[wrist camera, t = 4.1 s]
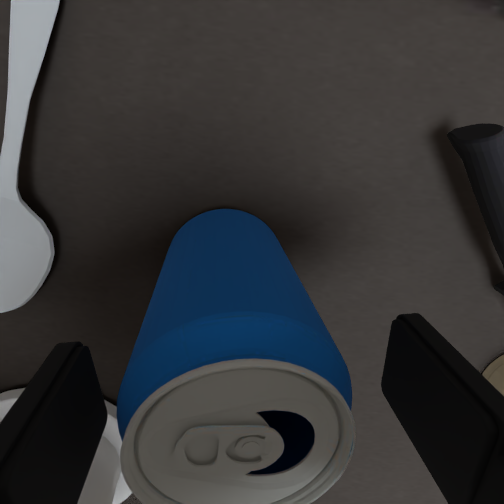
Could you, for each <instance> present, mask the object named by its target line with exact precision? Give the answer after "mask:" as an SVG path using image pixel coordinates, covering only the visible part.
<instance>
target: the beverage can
mask: <svg viewBox="0 0 504 504" xmlns="http://www.w3.org/2000/svg"><path fill="white" fill-rule="evenodd" d="M351 406H352V387H351V380H350V375H349V372H348V369H347V366H346V364H345V362H344V360H343V358H342V356H341V354H340V352H339V350H338V348H337V347H336V345H335V343H334V341H333V339H332V338H331V336H330V334H329V332H328V330H327V328H326V327H325V325H324V323H323V321H322V319H321V318H320V316H319V314H318V312H317V310H316V309H315V307H314V305H313V303H312V301H311V299H310V298H309V296H308V294H307V292H306V290H305V289H304V287H303V285H302V283H301V281H300V279H299V278H298V276H297V274H296V272H295V270H294V269H293V267H292V265H291V263H290V261H289V259H288V258H287V256H286V254H285V252H284V250H283V249H282V247H281V245H280V243H279V241H278V240H277V238H276V236H275V234H274V233H273V232H272V230H271V229H270V228H269V227H268V226H267V225H266V224H265V223H264V222H263V221H262V220H260V219H259V218H257V217H255V216H254V215H251V214H249V213H247V212H243V211H240V210H234V209H217V210H212V211H207V212H205V213H202V214H199V215H198V216H196V217H194V218H192V219H191V220H189V221H188V222H187V223H185V224H184V225H183V226H182V227H181V228H180V230H179V231H178V232H177V233H176V235H175V236H174V238H173V240H172V242H171V244H170V247H169V250H168V252H167V255H166V258H165V261H164V264H163V267H162V269H161V272H160V275H159V278H158V281H157V284H156V286H155V289H154V292H153V295H152V298H151V301H150V303H149V306H148V309H147V312H146V315H145V318H144V320H143V323H142V326H141V329H140V332H139V335H138V337H137V340H136V343H135V346H134V349H133V352H132V354H131V357H130V360H129V363H128V366H127V369H126V371H125V374H124V377H123V380H122V383H121V386H120V389H119V394H118V398H117V414H116V416H117V423H118V429H119V434H120V437H121V440H122V446H121V452H120V464H121V471H122V474H123V477H124V479H125V482H126V484H127V485H128V487H129V489H130V490H131V492H132V493H133V494H134V495H135V496H136V498H137V499H138V500H139V501H141V502H142V503H143V504H310V503H312V502H313V501H315V500H316V499H318V498H319V497H320V496H321V495H323V494H324V493H325V492H326V491H328V490H329V489H330V488H331V487H332V486H333V485H334V484H335V483H336V481H337V480H338V479H339V478H340V476H341V475H342V474H343V472H344V471H345V469H346V467H347V466H348V464H349V462H350V459H351V457H352V455H353V451H354V447H355V441H356V430H355V423H354V419H353V416H352V413H351Z"/></svg>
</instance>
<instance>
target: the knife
mask: <svg viewBox="0 0 504 504" xmlns="http://www.w3.org/2000/svg"><path fill="white" fill-rule="evenodd" d="M447 137H448V138H449V140H450V142H451V144H452V146H453V147H454V149H455V150H456V152H457V153H458V155H459V156H460V158H461V159H462V161H463V163H464V166H465V169H466V172H467V175H468V178H469V181H470V184H471V187H472V189H473V192H474V195H475V197H476V200H477V203H478V205H479V208H480V211H481V213H482V216H483V218H484V221H485V224H486V226H487V229H488V232H489V234H490V237H491V240H492V242H493V245H494V247H495V249H496V251H497V253H498V256H499V258H500V260H501V262H502V264H503V267H504V127H503V126H500V125H497V124H475V125H470V126H465V127H461V128H456V129H454V130H452V131H450V132H448V134H447ZM494 289H496V290H497V291H498V292H500V293H501V294H503V295H504V280H503V281H502V282H500V283H499V284H497V285H495V286H494Z"/></svg>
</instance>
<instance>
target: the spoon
mask: <svg viewBox="0 0 504 504" xmlns="http://www.w3.org/2000/svg"><path fill="white" fill-rule="evenodd" d="M59 3H60V0H11V16H10V39H9V70H8V96H7V107H6V118H5V130H4V140H3V145H2V150H1V156H0V313H3V312H7V311H11V310H14V309H16V308H18V307H21V306H23V305H24V304H26V303H27V302H28V301H29V300H30V299H31V298H32V297H33V296H34V295H35V294H36V292H37V291H38V290H39V288H40V287H41V286H42V284H43V282H44V281H45V279H46V277H47V275H48V273H49V271H50V269H51V265H52V262H53V258H54V254H55V251H54V244H53V237H52V234H51V233H50V231H49V229H48V228H47V226H46V224H45V223H44V221H43V220H42V219H41V218H40V217H39V216H38V215H36V214H35V213H34V212H33V211H32V210H31V209H30V208H29V207H28V205H27V204H26V203H25V202H24V201H23V200H22V198H21V195H20V193H19V190H18V171H19V164H20V157H21V150H22V143H23V138H24V132H25V127H26V121H27V116H28V111H29V105H30V100H31V97H32V93H33V90H34V87H35V84H36V81H37V78H38V75H39V71H40V68H41V65H42V62H43V59H44V56H45V52H46V49H47V46H48V42H49V39H50V35H51V32H52V29H53V25H54V22H55V18H56V15H57V12H58V8H59Z"/></svg>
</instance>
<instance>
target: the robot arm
mask: <svg viewBox="0 0 504 504" xmlns="http://www.w3.org/2000/svg"><path fill="white" fill-rule="evenodd" d="M381 387H382V391H383V394H384V396H385V398H386V399H387V401H388V403H389V404H390V406H391V408H392V410H393V411H394V413H395V415H396V416H397V418H398V420H399V421H400V423H401V425H402V426H403V428H404V430H405V431H406V433H407V435H408V436H409V438H410V440H411V441H412V443H413V445H414V447H415V448H416V450H417V452H418V453H419V455H420V457H421V458H422V460H423V462H424V463H425V465H426V467H427V468H428V470H429V472H430V473H431V475H432V477H433V478H434V480H435V482H436V484H437V485H438V487H439V489H440V490H441V492H442V494H443V495H444V497H445V499H446V500H447V502H448V504H504V396H503V395H502V394H501V393H500V392H499V391H498V390H497V389H496V388H495V387H494V386H493V385H492V384H491V383H490V382H489V381H488V380H487V379H486V378H485V377H484V376H483V375H482V374H481V373H480V372H479V371H478V370H476V369H475V368H474V367H473V366H472V365H471V364H470V363H469V362H468V361H467V360H466V359H465V358H464V357H463V356H462V355H461V354H460V353H459V352H458V351H457V350H456V349H455V348H454V347H453V346H452V345H451V344H450V343H449V342H448V341H447V340H446V339H445V338H444V337H443V336H442V335H441V334H440V333H439V332H438V331H437V330H436V329H435V328H434V327H433V326H432V325H431V324H430V323H428V322H427V321H426V320H425V319H424V318H423V317H422V316H421V315H420V314H418V313H412V314H401V315H398V316H397V318H396V320H393V321H392V325H391V330H390V336H389V342H388V347H387V353H386V359H385V365H384V370H383V376H382V382H381ZM116 414H117V407H116V406H114V405H113V404H111V403H109V402H108V401H106V400H104V398H103V395H102V391H101V388H100V384H99V381H98V377H97V374H96V371H95V367H94V364H93V360H92V357H91V354H90V350H89V348H88V347H87V346H83V344H82V343H81V342H68V343H59V344H57V345H56V346H55V347H54V349H53V350H52V351H51V353H50V354H49V356H48V357H47V358H46V360H45V361H44V363H43V364H42V365H41V367H40V368H39V370H38V371H37V372H36V374H35V375H34V377H33V378H32V380H31V381H30V382H29V384H28V385H27V387H26V388H21V389H15V390H9V391H6V392H3V393H0V504H120V503H121V502H123V501H124V500H125V499H127V498H128V497H129V496H130V494H131V493H132V492H131V490H130V489H129V487H128V485H127V484H126V482H125V479H124V477H123V474H122V471H121V464H120V452H121V446H122V440H121V437H120V434H119V429H118V423H117V416H116Z"/></svg>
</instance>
